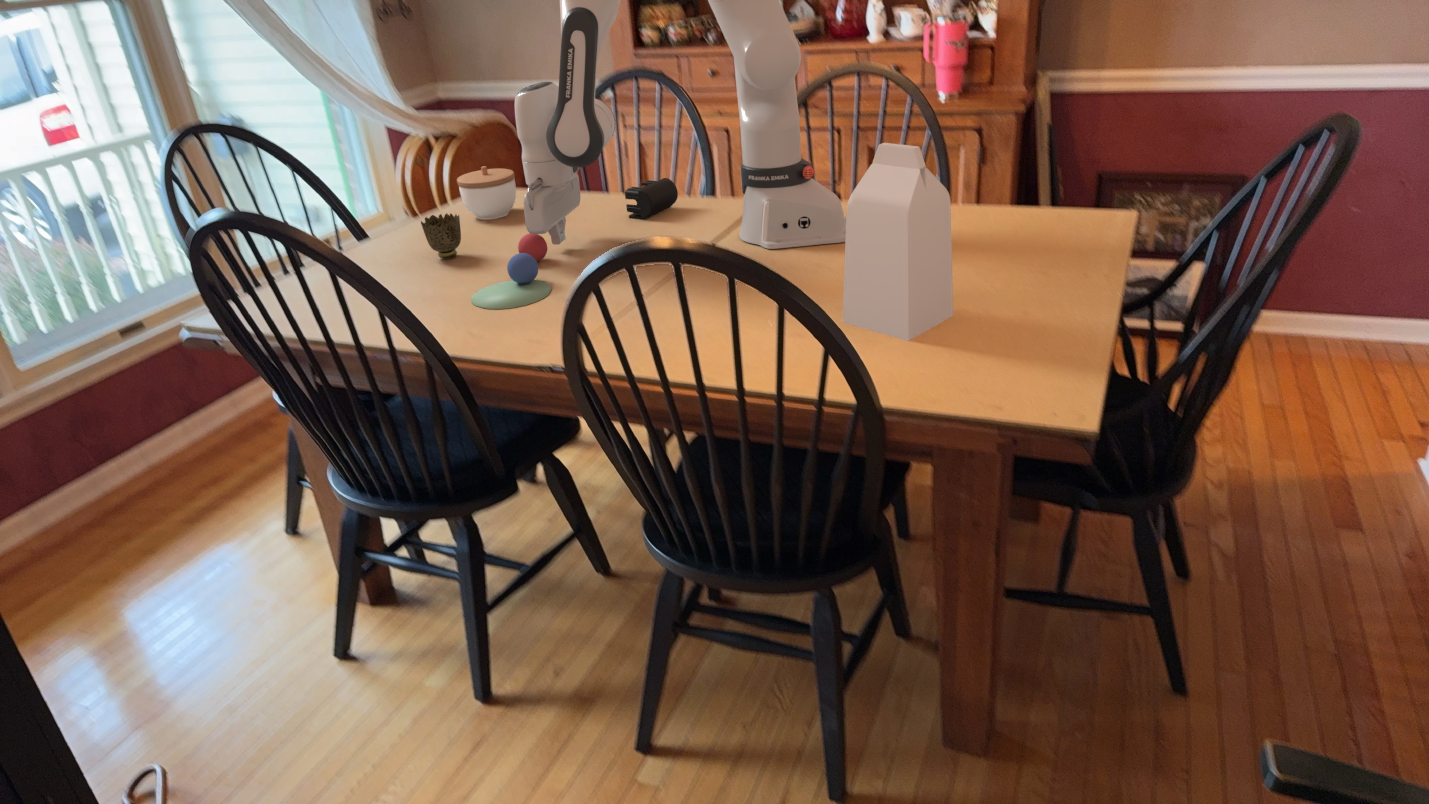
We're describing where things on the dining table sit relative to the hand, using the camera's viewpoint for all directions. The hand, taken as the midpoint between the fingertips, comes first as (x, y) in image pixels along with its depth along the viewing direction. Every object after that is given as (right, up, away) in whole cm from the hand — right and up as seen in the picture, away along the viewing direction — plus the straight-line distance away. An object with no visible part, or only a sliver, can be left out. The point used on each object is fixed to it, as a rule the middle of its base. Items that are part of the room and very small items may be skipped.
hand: (559, 242), depth 188 cm
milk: (+58, -19, -44) cm, 75 cm away
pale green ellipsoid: (-5, -13, -20) cm, 24 cm away
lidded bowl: (-20, +11, +28) cm, 36 cm away
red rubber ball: (-4, -2, -6) cm, 7 cm away
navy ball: (-4, -8, -16) cm, 18 cm away
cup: (-22, -3, +3) cm, 23 cm away
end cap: (+17, +9, +19) cm, 27 cm away
